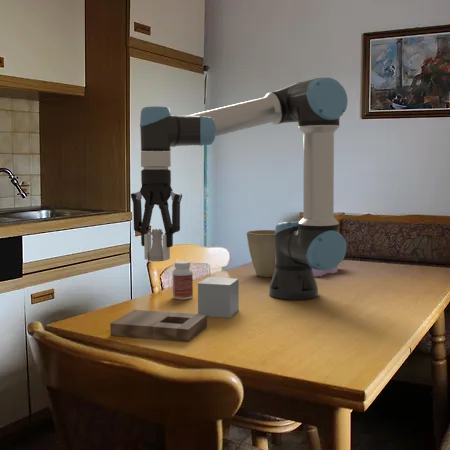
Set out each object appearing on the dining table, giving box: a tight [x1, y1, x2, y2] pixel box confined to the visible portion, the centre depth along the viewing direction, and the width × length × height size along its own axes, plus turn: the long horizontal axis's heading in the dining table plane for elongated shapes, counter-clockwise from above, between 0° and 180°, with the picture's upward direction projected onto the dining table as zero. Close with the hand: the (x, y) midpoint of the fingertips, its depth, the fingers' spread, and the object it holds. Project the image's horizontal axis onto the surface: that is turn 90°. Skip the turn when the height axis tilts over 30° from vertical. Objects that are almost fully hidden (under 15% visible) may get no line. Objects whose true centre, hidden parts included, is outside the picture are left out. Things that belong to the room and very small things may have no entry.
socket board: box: [109, 309, 208, 343], centre depth 155 cm, size 20×14×3 cm
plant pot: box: [246, 229, 275, 278], centre depth 227 cm, size 15×15×16 cm
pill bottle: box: [172, 260, 194, 301], centre depth 191 cm, size 6×6×11 cm
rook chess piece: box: [148, 228, 165, 262], centre depth 161 cm, size 4×4×8 cm
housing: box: [197, 276, 240, 319], centre depth 172 cm, size 9×9×9 cm
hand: (157, 258), depth 161 cm, fingers closed on rook chess piece, 4 cm apart
